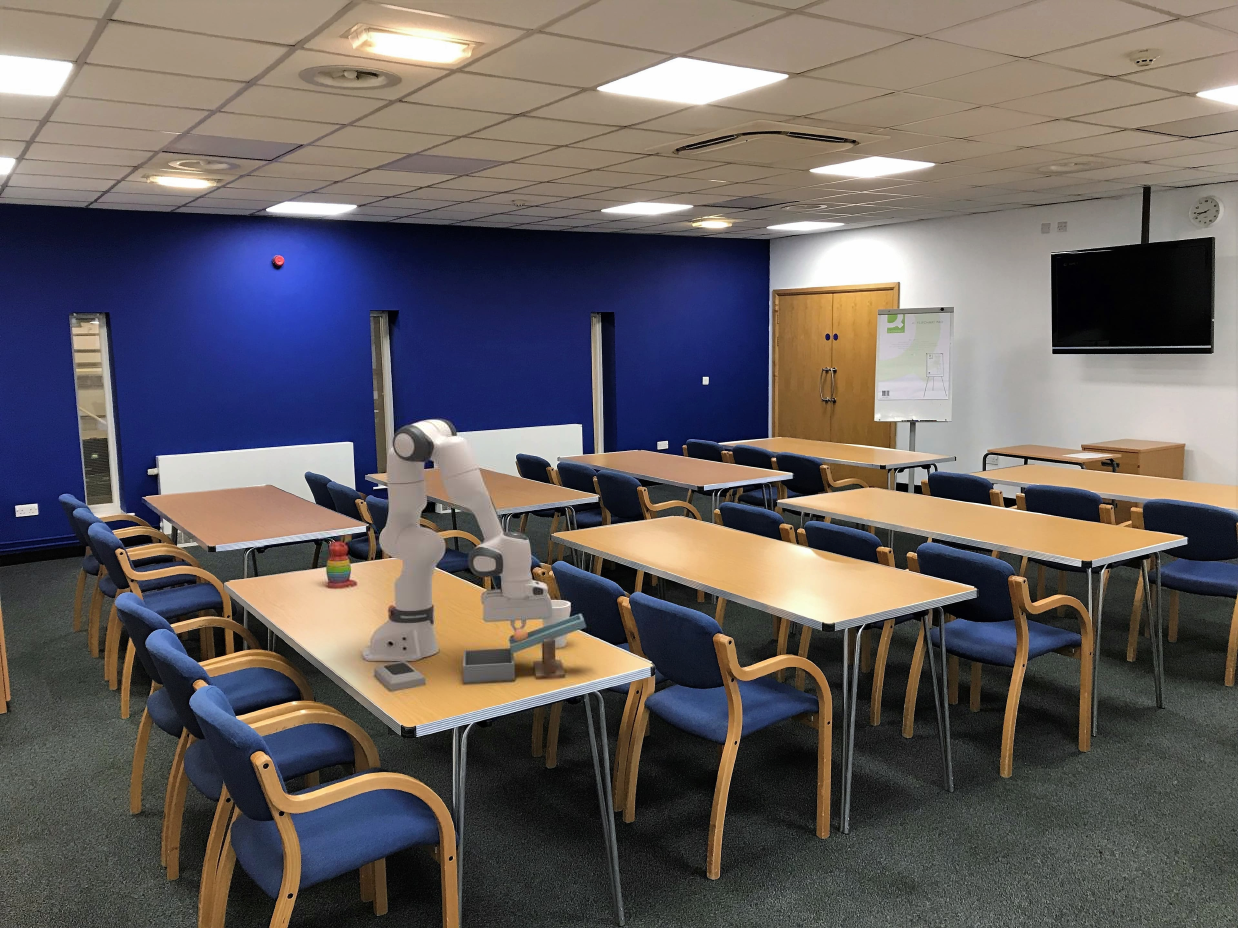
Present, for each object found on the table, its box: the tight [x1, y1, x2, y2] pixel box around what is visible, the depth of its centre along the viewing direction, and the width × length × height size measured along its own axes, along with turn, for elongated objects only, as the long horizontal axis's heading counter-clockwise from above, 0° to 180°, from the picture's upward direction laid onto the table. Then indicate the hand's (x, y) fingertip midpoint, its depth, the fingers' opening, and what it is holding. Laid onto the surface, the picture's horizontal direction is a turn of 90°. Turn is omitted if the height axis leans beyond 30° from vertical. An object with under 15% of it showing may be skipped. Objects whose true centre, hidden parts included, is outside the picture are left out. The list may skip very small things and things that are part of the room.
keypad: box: [373, 661, 426, 693], centre depth 258 cm, size 10×4×15 cm
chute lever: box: [508, 613, 587, 654], centre depth 267 cm, size 22×13×2 cm, turn 98°
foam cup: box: [541, 599, 572, 649], centre depth 289 cm, size 10×9×13 cm
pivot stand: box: [533, 638, 566, 680], centre depth 265 cm, size 8×13×11 cm, turn 9°
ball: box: [513, 628, 528, 642], centre depth 263 cm, size 4×4×4 cm
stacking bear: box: [325, 541, 358, 589], centre depth 366 cm, size 11×10×18 cm
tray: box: [462, 647, 516, 685], centre depth 263 cm, size 14×14×5 cm
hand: (518, 634), depth 269 cm, fingers closed
